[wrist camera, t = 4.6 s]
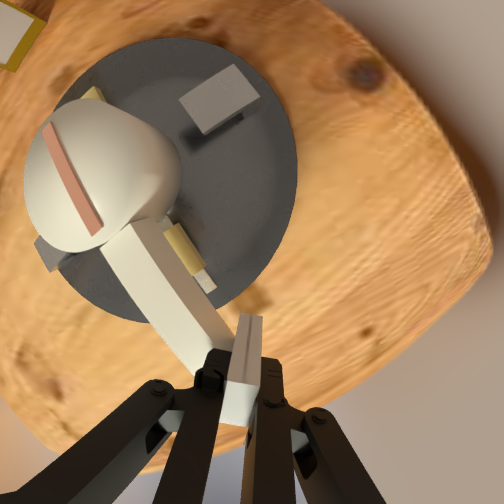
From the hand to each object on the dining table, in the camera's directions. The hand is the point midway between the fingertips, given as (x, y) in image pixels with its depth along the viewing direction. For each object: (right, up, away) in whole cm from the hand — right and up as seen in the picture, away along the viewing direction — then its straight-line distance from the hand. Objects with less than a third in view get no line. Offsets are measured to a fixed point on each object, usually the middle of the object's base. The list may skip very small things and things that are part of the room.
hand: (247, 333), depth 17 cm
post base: (-8, +11, +3) cm, 14 cm away
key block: (-7, +9, +2) cm, 12 cm away
